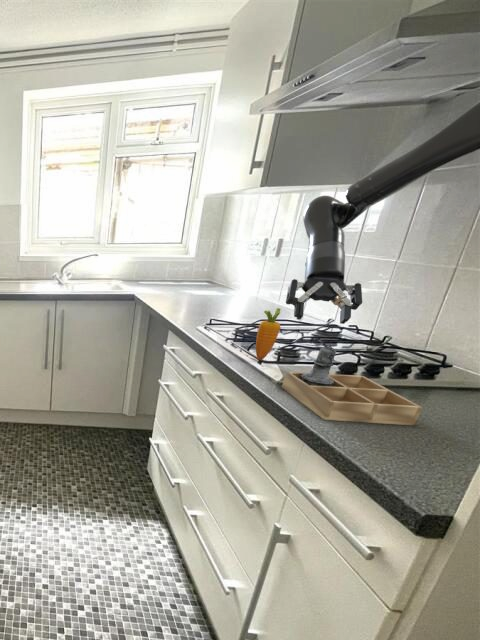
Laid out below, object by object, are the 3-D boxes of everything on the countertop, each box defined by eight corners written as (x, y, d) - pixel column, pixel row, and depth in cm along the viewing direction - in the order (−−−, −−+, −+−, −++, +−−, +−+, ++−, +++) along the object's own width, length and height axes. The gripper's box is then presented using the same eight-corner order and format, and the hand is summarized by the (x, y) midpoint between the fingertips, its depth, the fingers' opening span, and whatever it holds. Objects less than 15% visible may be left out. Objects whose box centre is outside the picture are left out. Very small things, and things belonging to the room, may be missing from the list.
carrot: (253, 363, 116) (269, 310, 110) (246, 357, 120) (261, 305, 114) (273, 364, 115) (290, 311, 109) (264, 358, 120) (280, 306, 114)
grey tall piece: (303, 396, 94) (322, 346, 89) (292, 386, 99) (308, 338, 95) (333, 399, 93) (354, 348, 88) (320, 388, 98) (338, 340, 93)
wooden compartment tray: (356, 391, 99) (363, 375, 97) (413, 425, 84) (423, 407, 82) (281, 387, 101) (286, 371, 99) (324, 419, 86) (331, 402, 84)
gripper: (296, 253, 104) (291, 308, 99) (368, 256, 98) (367, 314, 94) (285, 272, 111) (280, 324, 106) (353, 276, 105) (351, 331, 100)
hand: (321, 320), depth 100 cm, fingers open, 8 cm apart
